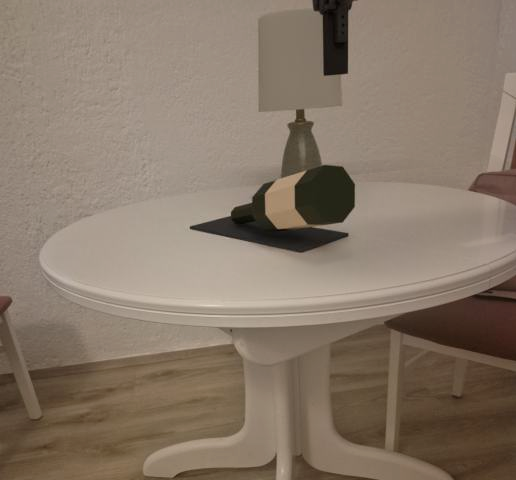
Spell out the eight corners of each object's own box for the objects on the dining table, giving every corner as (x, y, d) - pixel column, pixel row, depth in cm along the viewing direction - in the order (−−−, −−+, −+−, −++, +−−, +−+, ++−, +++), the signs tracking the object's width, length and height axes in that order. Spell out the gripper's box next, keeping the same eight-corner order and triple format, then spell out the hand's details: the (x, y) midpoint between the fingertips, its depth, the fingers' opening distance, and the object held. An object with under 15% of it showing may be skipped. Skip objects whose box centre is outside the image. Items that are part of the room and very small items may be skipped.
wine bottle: (302, 174, 65) (210, 202, 90) (321, 233, 68) (226, 244, 93) (346, 155, 68) (245, 187, 94) (363, 211, 71) (260, 228, 96)
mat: (348, 235, 82) (348, 233, 82) (301, 252, 75) (301, 249, 75) (235, 216, 103) (235, 214, 102) (189, 228, 96) (189, 226, 95)
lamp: (284, 209, 106) (275, 7, 89) (252, 198, 121) (239, 23, 104) (356, 198, 111) (361, 6, 95) (317, 188, 127) (315, 22, 110)
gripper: (278, -155, 55) (288, 80, 66) (330, -223, 44) (332, 72, 55) (337, -151, 57) (338, 76, 68) (401, -216, 46) (390, 68, 56)
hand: (335, 74), depth 61 cm, fingers closed
